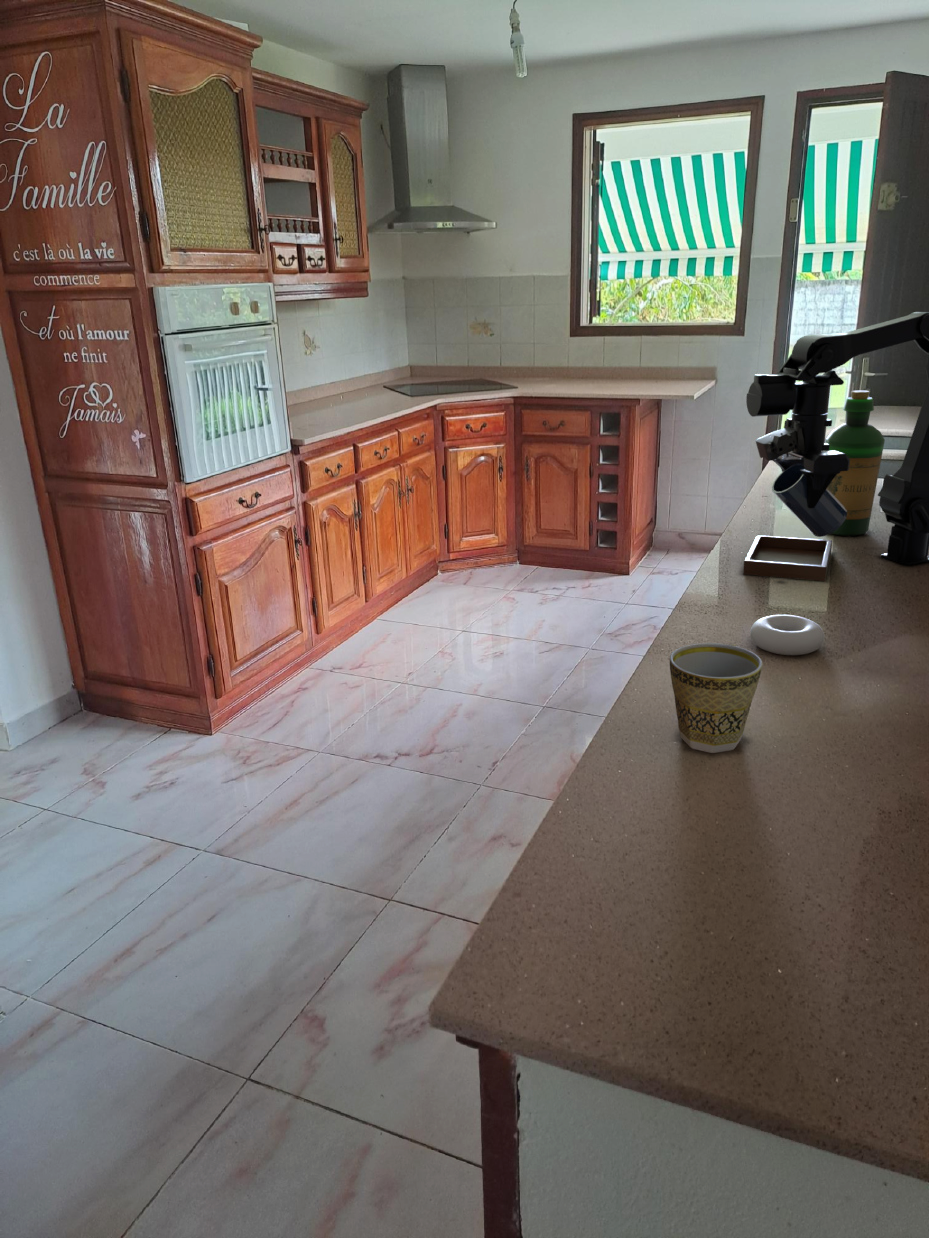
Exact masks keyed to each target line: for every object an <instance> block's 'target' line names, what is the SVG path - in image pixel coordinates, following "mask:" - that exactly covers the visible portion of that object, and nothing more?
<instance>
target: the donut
mask: <svg viewBox="0 0 929 1238" xmlns="http://www.w3.org/2000/svg"><path fill="white" fill-rule="evenodd" d="M749 634H750V637H751V640H752V642H753V643H754V644H755V645H756V646H757V647H758V648H759V649H762V650H763V651H766V652H769V653H772V654H776V655H782V656H801V655H802V656H803V655H808V654H811V653H814V652H815V651H817V650H818V649H819V648H821V647H822V645H823V643H824V640H825V632H824V631H823V629H822V627H821V626H820V625H819V624H818V623H817V622H815V621H813V620H811V619H809V618H806V617H803V616H798V615H793V614H773V615H767V616H763V617H761V618H759V619H757V620H756V621H755V622H754V623H753V624H752V626H751V628H750V631H749Z"/></svg>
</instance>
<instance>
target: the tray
mask: <svg viewBox="0 0 929 1238" xmlns="http://www.w3.org/2000/svg"><path fill="white" fill-rule="evenodd" d="M832 546H833V539H819V538H806V537H791V536H790V537H789V536H775V535H761V534H760V535H759V534H757V535H756V536H755V539H754V541H753V542H752V545H751V546H750V549H749V550H748V552H747V554H746V556H745V558H744V560H743V569H742V570H743V571H742V574H743V575H746V576H756V577H757V576H759V577H768V578H769V577H771V578H780V579H784V578H785V579H793V580H794V579H795V580H805V581H817V582H819V581H820V582H826V579H827V574H828V568H829V564H830V559H831V554H832Z"/></svg>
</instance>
